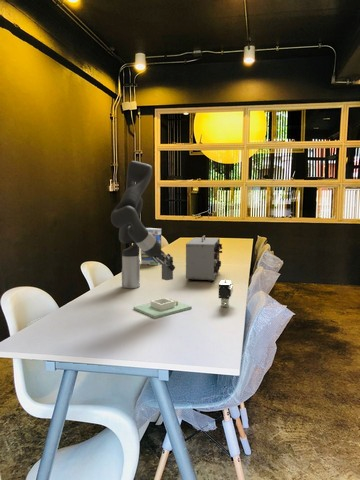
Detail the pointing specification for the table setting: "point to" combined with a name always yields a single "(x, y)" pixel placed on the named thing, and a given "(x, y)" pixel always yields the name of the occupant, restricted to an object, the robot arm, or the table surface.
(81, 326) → the table surface
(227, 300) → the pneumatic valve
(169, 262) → the robot arm
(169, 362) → the table surface
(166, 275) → the grey rectangular block
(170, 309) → the board
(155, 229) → the string lights box
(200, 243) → the vintage electronic device
